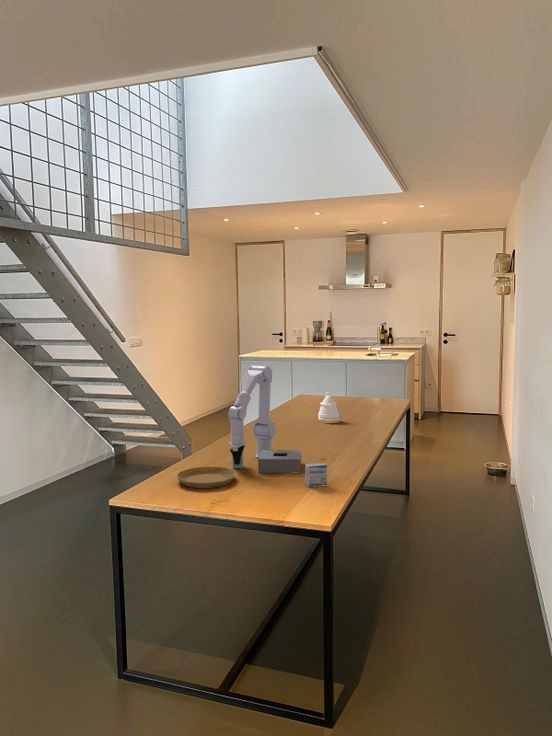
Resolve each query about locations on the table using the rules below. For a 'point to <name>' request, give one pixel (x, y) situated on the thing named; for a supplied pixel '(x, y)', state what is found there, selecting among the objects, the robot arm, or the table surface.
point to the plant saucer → (206, 477)
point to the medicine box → (315, 474)
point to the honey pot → (328, 409)
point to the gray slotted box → (279, 461)
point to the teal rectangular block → (239, 464)
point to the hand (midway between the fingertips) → (237, 463)
